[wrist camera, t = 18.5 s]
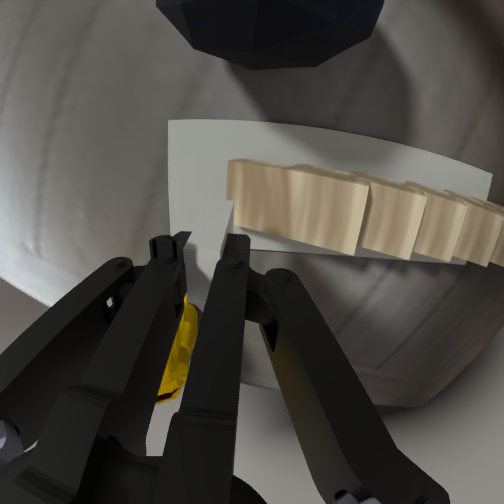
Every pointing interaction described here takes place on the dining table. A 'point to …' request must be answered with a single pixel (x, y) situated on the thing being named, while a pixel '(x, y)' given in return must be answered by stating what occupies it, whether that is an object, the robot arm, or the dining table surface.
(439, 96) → the dining table surface
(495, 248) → the tile
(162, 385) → the figure statuette
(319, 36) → the decorative orb
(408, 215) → the tile
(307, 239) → the tile
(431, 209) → the tile
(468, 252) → the tile
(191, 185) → the runner mat
